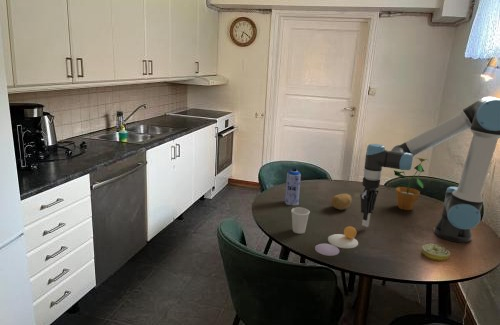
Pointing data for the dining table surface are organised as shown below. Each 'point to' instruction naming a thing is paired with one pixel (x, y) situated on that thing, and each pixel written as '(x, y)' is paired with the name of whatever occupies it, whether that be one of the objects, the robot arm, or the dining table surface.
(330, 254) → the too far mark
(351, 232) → the ball
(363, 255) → the dining table surface
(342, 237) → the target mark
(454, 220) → the robot arm
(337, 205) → the potato
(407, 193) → the potted plant
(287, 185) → the aerosol can
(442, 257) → the decorated donut
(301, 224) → the dixie cup
